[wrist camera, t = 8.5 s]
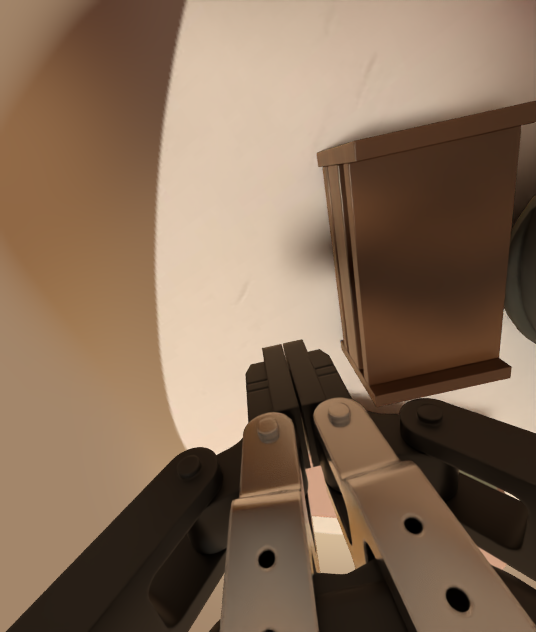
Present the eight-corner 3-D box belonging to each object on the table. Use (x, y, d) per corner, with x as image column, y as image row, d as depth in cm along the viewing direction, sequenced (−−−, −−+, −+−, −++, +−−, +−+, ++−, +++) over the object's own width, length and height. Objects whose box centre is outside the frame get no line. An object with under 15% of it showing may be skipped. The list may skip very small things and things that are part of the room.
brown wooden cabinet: (316, 152, 20) (353, 141, 13) (445, 124, 20) (543, 99, 13) (341, 349, 25) (376, 407, 19) (442, 327, 25) (510, 378, 19)
